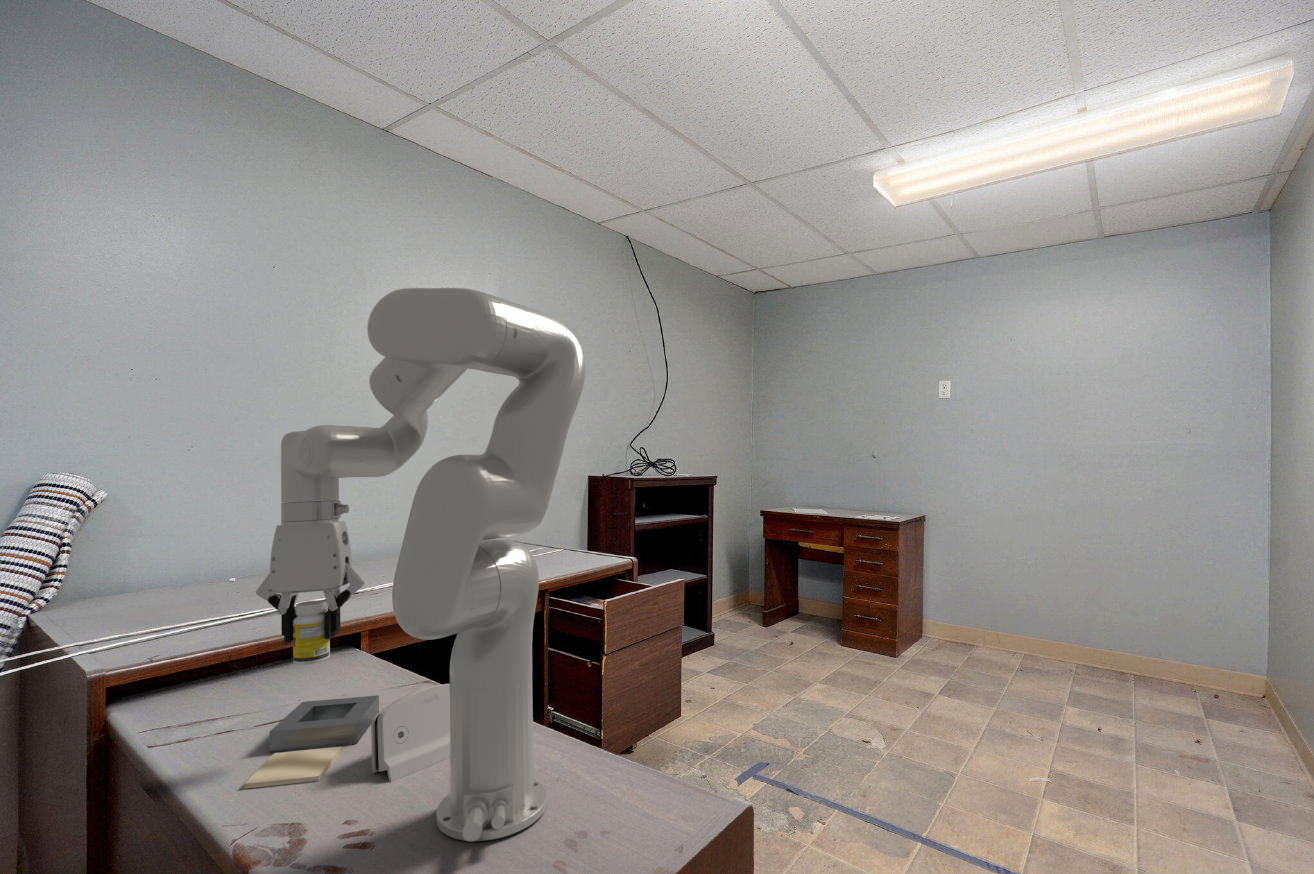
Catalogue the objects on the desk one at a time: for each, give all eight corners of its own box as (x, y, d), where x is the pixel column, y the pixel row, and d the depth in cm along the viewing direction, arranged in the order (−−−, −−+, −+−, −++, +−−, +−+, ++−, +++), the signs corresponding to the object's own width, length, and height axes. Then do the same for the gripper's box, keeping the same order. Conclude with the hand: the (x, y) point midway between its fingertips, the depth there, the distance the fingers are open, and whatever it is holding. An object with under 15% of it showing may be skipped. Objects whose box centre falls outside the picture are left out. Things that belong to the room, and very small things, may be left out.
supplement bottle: (298, 658, 90) (298, 601, 91) (333, 654, 92) (332, 598, 92) (288, 667, 86) (288, 607, 86) (325, 663, 87) (325, 603, 88)
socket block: (356, 743, 91) (356, 723, 91) (269, 752, 89) (269, 731, 89) (378, 713, 103) (379, 695, 103) (302, 720, 101) (302, 701, 101)
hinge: (388, 783, 79) (376, 703, 82) (372, 785, 82) (360, 708, 84) (496, 737, 92) (482, 670, 95) (479, 741, 95) (466, 675, 97)
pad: (318, 780, 80) (318, 776, 80) (243, 788, 79) (243, 784, 79) (341, 750, 89) (341, 746, 89) (274, 757, 87) (274, 753, 87)
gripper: (378, 509, 95) (380, 627, 94) (261, 515, 93) (261, 637, 91) (362, 511, 88) (364, 639, 87) (235, 518, 85) (234, 650, 84)
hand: (311, 637), depth 89 cm, fingers closed on supplement bottle, 4 cm apart
